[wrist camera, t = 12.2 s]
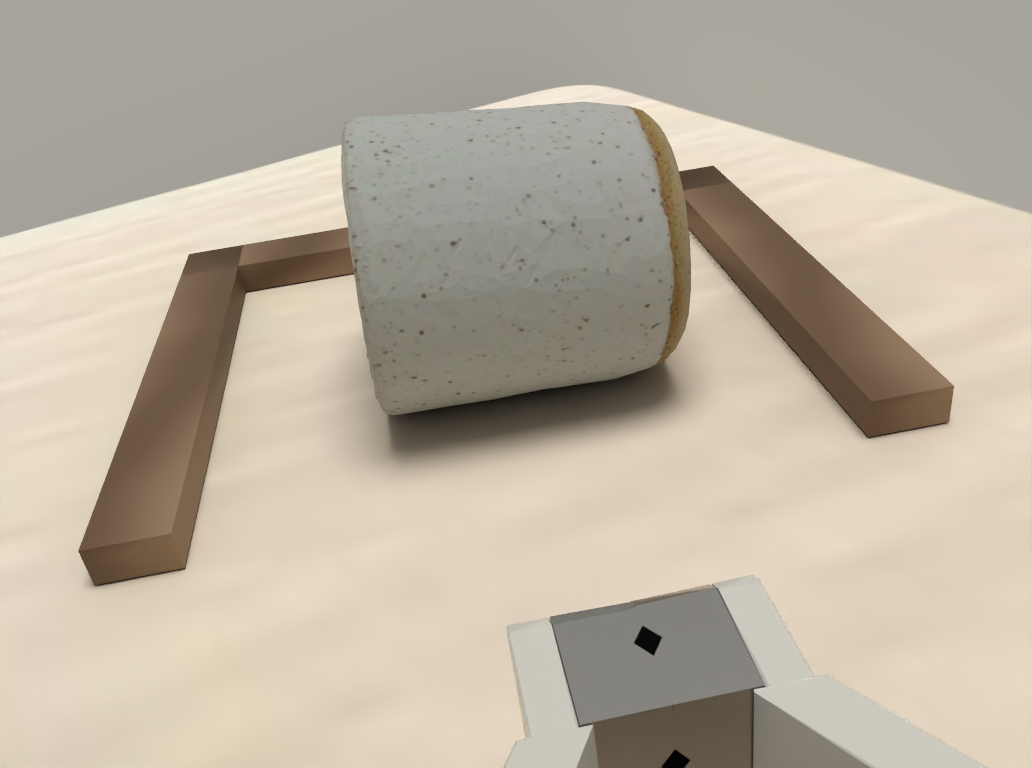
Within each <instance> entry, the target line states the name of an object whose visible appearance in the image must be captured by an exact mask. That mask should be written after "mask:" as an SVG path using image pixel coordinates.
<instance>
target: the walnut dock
mask: <svg viewBox="0 0 1032 768" xmlns="http://www.w3.org/2000/svg"><path fill="white" fill-rule="evenodd" d="M679 175H680V179H681V183H682V187H683V192H684V197H685V203H686V211H687V220H688V228H689V229H690V230H691V231H692V232H693V234H694V235H695V236H696V237H697V238H698V239H699V241H700V242H701V243H702V244H703V245H704V246H705V248H706V249H707V250H708V251H709V252H710V253H711V255H712V256H713V257H714V258H715V259H716V260H717V262H718V263H719V264H720V265H721V266H722V267H723V269H724V270H725V271H726V272H727V273H728V274H729V276H730V277H731V278H732V279H733V280H734V281H735V283H736V284H737V285H738V286H739V287H740V288H741V290H742V291H743V292H744V293H745V294H746V295H747V297H748V298H749V299H750V300H751V301H752V302H753V304H754V305H755V306H756V307H757V308H758V309H759V310H760V312H761V313H762V314H763V315H764V316H765V317H766V319H767V320H768V321H769V322H770V323H771V324H772V326H773V327H774V328H775V329H776V330H777V331H778V333H779V334H780V335H781V336H782V337H783V338H784V340H785V341H786V342H787V343H788V344H789V345H790V347H791V348H792V349H793V350H794V351H795V352H796V354H797V355H798V356H799V357H800V358H801V359H802V361H803V362H804V363H805V364H806V365H807V366H808V368H809V369H810V370H811V371H812V372H813V373H814V375H815V376H816V377H817V378H818V379H819V380H820V382H821V383H822V384H823V385H824V386H825V387H826V389H827V390H828V391H829V392H830V393H831V394H832V396H833V397H834V398H835V399H836V400H837V401H838V402H839V404H840V405H841V406H842V407H843V408H844V409H845V411H846V412H847V413H848V414H849V415H850V416H851V418H852V419H853V420H854V421H855V422H856V423H857V425H858V426H859V427H860V428H861V429H862V430H863V432H864V433H865V434H866V435H867V436H868V437H872V436H877V435H882V434H887V433H893V432H898V431H903V430H908V429H914V428H919V427H924V426H929V425H934V424H940V423H945V422H949V418H950V411H951V403H952V396H953V389H954V385H952V384H951V383H950V382H949V381H948V380H947V379H946V378H945V377H944V376H943V375H941V374H940V373H939V372H938V371H937V370H936V369H935V368H934V367H933V366H932V365H931V364H929V363H928V362H927V361H926V360H925V359H924V358H923V357H922V356H921V355H920V354H919V353H917V352H916V351H915V350H914V349H913V348H912V347H911V346H910V345H909V344H908V343H907V342H905V341H904V340H903V339H902V338H901V337H900V336H899V335H898V334H897V333H896V332H895V331H893V330H892V329H891V328H890V327H889V326H888V325H887V324H886V323H885V322H884V321H883V320H881V319H880V318H879V317H878V316H877V315H876V314H875V313H874V312H873V311H872V310H870V309H869V308H868V307H867V306H866V305H865V304H864V303H863V302H862V301H861V300H860V299H858V298H857V297H856V296H855V295H854V294H853V293H852V292H851V291H850V290H849V289H848V288H846V287H845V286H844V285H843V284H842V283H841V282H840V281H839V280H838V279H837V278H836V277H834V276H833V275H832V274H831V273H830V272H829V271H828V270H827V269H826V268H825V267H824V266H822V265H821V264H820V263H819V262H818V261H817V260H816V259H815V258H814V257H813V256H812V255H810V254H809V253H808V252H807V251H806V250H805V249H804V248H803V247H802V246H801V245H800V244H798V243H797V242H796V241H795V240H794V239H793V238H792V237H791V236H790V235H789V234H787V233H786V232H785V231H784V230H783V229H782V228H781V227H780V226H779V225H778V224H777V223H775V222H774V221H773V220H772V219H771V218H770V217H769V216H768V215H767V214H766V213H765V212H763V211H762V210H761V209H760V208H759V207H758V206H757V205H756V204H755V203H754V202H753V201H751V200H750V199H749V198H748V197H747V196H746V195H745V194H744V193H743V192H742V191H741V190H739V189H738V188H737V187H736V186H735V185H734V184H733V183H732V182H731V181H730V180H729V179H727V178H726V177H725V176H724V175H723V174H722V173H721V172H720V171H719V170H718V169H716V168H715V167H714V166H709V167H703V168H697V169H691V170H685V171H679ZM351 273H354V270H353V264H352V258H351V251H350V244H349V234H348V228H342V229H336V230H330V231H324V232H318V233H312V234H306V235H300V236H294V237H288V238H283V239H277V240H271V241H265V242H259V243H253V244H247V245H241V246H235V247H229V248H223V249H217V250H211V251H206V252H200V253H194V254H189V256H188V259H187V261H186V264H185V267H184V269H183V272H182V275H181V278H180V280H179V283H178V286H177V288H176V291H175V294H174V296H173V299H172V302H171V304H170V307H169V310H168V312H167V315H166V318H165V320H164V323H163V326H162V328H161V331H160V334H159V336H158V339H157V342H156V344H155V347H154V350H153V353H152V355H151V358H150V361H149V363H148V366H147V369H146V371H145V374H144V377H143V379H142V382H141V385H140V387H139V390H138V393H137V395H136V398H135V401H134V403H133V406H132V409H131V411H130V414H129V417H128V420H127V422H126V425H125V428H124V430H123V433H122V436H121V438H120V441H119V444H118V446H117V449H116V452H115V454H114V457H113V460H112V462H111V465H110V468H109V470H108V473H107V476H106V478H105V481H104V484H103V487H102V489H101V492H100V495H99V497H98V500H97V503H96V505H95V508H94V511H93V513H92V516H91V519H90V521H89V524H88V527H87V529H86V532H85V535H84V537H83V540H82V543H81V545H80V548H79V553H80V555H81V558H82V560H83V562H84V564H85V566H86V568H87V571H88V573H89V575H90V577H91V579H92V581H93V584H94V585H98V584H104V583H109V582H114V581H119V580H124V579H130V578H135V577H140V576H145V575H151V574H156V573H161V572H166V571H171V570H177V569H182V568H185V565H186V560H187V556H188V551H189V546H190V542H191V537H192V533H193V528H194V524H195V519H196V515H197V510H198V506H199V501H200V497H201V492H202V487H203V483H204V478H205V474H206V469H207V465H208V460H209V456H210V451H211V447H212V442H213V438H214V433H215V429H216V424H217V419H218V415H219V410H220V406H221V401H222V397H223V392H224V388H225V383H226V379H227V374H228V370H229V365H230V360H231V356H232V351H233V347H234V342H235V338H236V333H237V329H238V324H239V320H240V315H241V311H242V306H243V301H244V297H245V292H247V291H252V290H258V289H264V288H270V287H276V286H281V285H287V284H293V283H299V282H305V281H310V280H316V279H322V278H328V277H334V276H340V275H345V274H351Z"/></svg>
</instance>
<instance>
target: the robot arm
mask: <svg viewBox="0 0 1032 768" xmlns="http://www.w3.org/2000/svg"><path fill="white" fill-rule="evenodd" d="M507 636H508V642H509V647H510V653H511V659H512V664H513V670H514V676H515V681H516V687H517V693H518V698H519V704H520V710H521V715H522V721H523V727H524V732H525V738H526V739H523V740H519V741H516V742H515V744H514V746H513V748H512V751H511V753H510V755H509V757H508V759H507V761H506V763H505V765H504V767H503V768H988V767H986V766H984V765H983V764H981V763H979V762H978V761H976V760H974V759H972V758H971V757H969V756H967V755H965V754H964V753H962V752H960V751H959V750H957V749H955V748H953V747H952V746H950V745H948V744H947V743H945V742H943V741H941V740H940V739H938V738H936V737H934V736H933V735H931V734H929V733H928V732H926V731H924V730H922V729H921V728H919V727H917V726H916V725H914V724H912V723H910V722H909V721H907V720H905V719H903V718H902V717H900V716H898V715H897V714H895V713H893V712H891V711H890V710H888V709H886V708H884V707H883V706H881V705H879V704H878V703H876V702H874V701H872V700H871V699H869V698H867V697H866V696H864V695H862V694H860V693H859V692H857V691H855V690H853V689H852V688H850V687H848V686H847V685H845V684H843V683H841V682H840V681H838V680H836V679H835V678H833V677H831V676H829V675H828V674H827V675H821V676H816V677H815V676H814V674H813V673H812V671H811V669H810V667H809V666H808V664H807V662H806V660H805V659H804V657H803V655H802V653H801V652H800V650H799V648H798V646H797V644H796V643H795V641H794V639H793V637H792V636H791V634H790V632H789V630H788V629H787V627H786V625H785V623H784V622H783V620H782V618H781V616H780V615H779V613H778V611H777V609H776V607H775V606H774V604H773V602H772V600H771V599H770V597H769V595H768V593H767V592H766V590H765V588H764V586H763V585H762V583H761V581H760V580H759V579H758V578H757V577H755V576H754V575H750V576H745V577H741V578H736V579H732V580H727V581H722V582H718V583H713V584H712V585H705V586H700V587H695V588H691V589H686V590H681V591H677V592H672V593H668V594H663V595H658V596H654V597H649V598H644V599H640V600H635V601H631V602H629V603H623V604H618V605H612V606H606V607H601V608H595V609H590V610H584V611H579V612H573V613H568V614H562V615H557V616H551V617H550V620H549V619H548V618H546V619H540V620H534V621H529V622H523V623H517V624H512V625H507Z"/></svg>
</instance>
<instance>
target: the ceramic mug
mask: <svg viewBox="0 0 1032 768" xmlns="http://www.w3.org/2000/svg"><path fill="white" fill-rule="evenodd" d="M341 140H342V156H341V161H342V186H343V196H344V204H345V209H346V215H347V220H348V234H349V244H350V251H351V258H352V264H353V270H354V275H355V281H356V289H357V297H358V303H359V309H360V314H361V319H362V325H363V333H364V339H365V343H366V348H367V357H368V359H369V363H370V371H371V377H372V379H373V382H374V387H375V395H376V398H377V400H378V402H379V404H380V407H381V408H382V409H383V411H384V412H385V413H387V414H389V415H400V414H406V413H412V412H418V411H424V410H430V409H436V408H442V407H448V406H454V405H460V404H467V403H473V402H480V401H486V400H492V399H498V398H503V397H508V396H513V395H518V394H523V393H528V392H533V391H537V390H542V389H549V388H558V387H565V386H571V385H577V384H584V383H591V382H598V381H605V380H612V379H616V378H619V377H623V376H626V375H629V374H632V373H635V372H638V371H641V370H645V369H648V368H650V367H652V366H655V365H657V364H659V363H662V362H664V360H665V359H666V358H667V357H668V356H669V355H670V354H671V353H672V352H673V351H674V350H675V348H676V347H677V345H678V343H679V341H680V339H681V337H682V334H683V332H684V330H685V327H686V323H687V319H688V314H689V303H690V291H691V258H690V238H689V229H688V220H687V211H686V203H685V197H684V192H683V187H682V183H681V179H680V175H679V171H678V166H677V163H676V160H675V157H674V154H673V151H672V148H671V146H670V144H669V142H668V140H667V138H666V136H665V134H664V132H663V131H662V129H661V128H660V126H659V125H658V124H657V123H656V122H655V121H654V120H653V119H652V118H651V117H650V116H649V115H647V114H646V113H645V112H644V111H642V110H639V109H636V108H632V107H628V106H621V105H611V104H600V103H590V102H576V103H562V104H548V105H536V106H527V107H518V108H507V109H485V110H465V111H453V112H442V113H424V114H406V115H405V114H404V115H387V116H371V117H354V118H352V119H349V120H347V121H346V123H345V125H344V128H343V131H342V138H341Z"/></svg>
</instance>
